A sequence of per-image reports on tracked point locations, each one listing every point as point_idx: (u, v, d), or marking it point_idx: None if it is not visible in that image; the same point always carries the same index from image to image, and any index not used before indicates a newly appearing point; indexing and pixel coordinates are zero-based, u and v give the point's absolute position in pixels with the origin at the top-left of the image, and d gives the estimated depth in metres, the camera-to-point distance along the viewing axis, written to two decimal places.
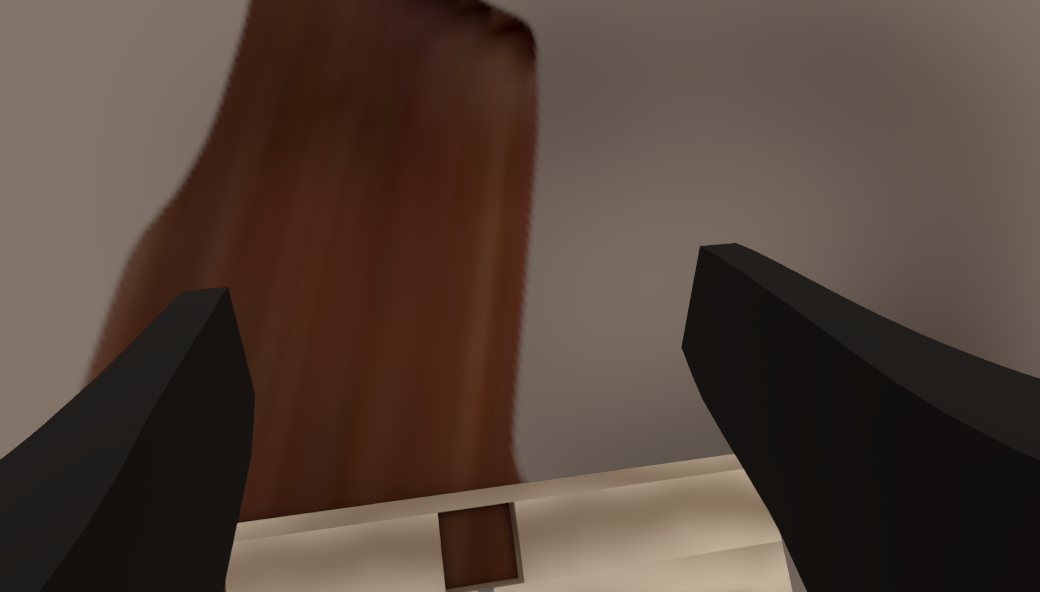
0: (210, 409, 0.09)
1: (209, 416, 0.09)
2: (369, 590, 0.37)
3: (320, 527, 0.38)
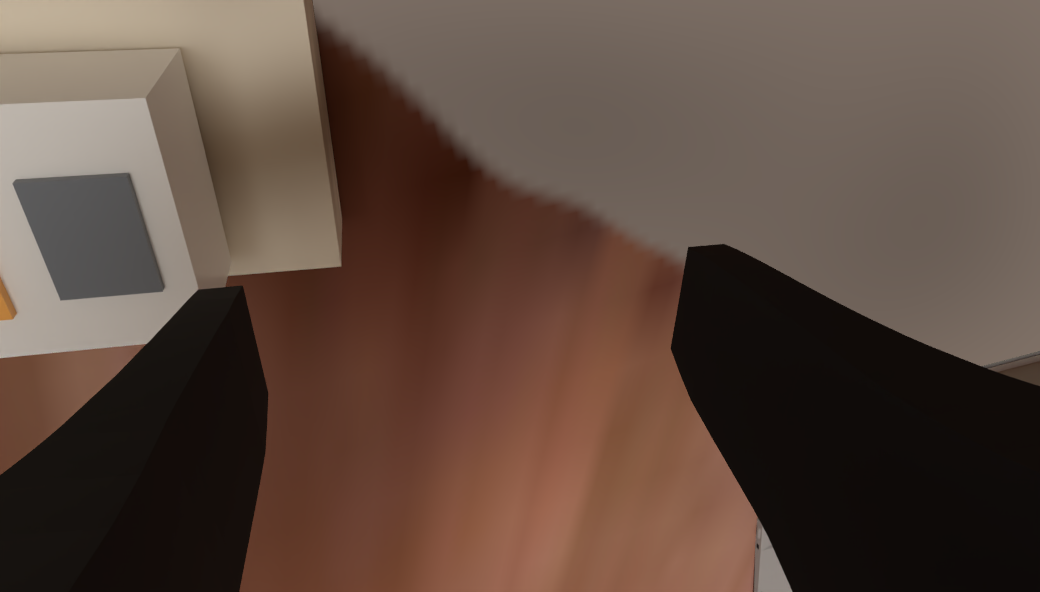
0: (226, 407, 0.09)
1: (224, 414, 0.09)
2: None
3: None
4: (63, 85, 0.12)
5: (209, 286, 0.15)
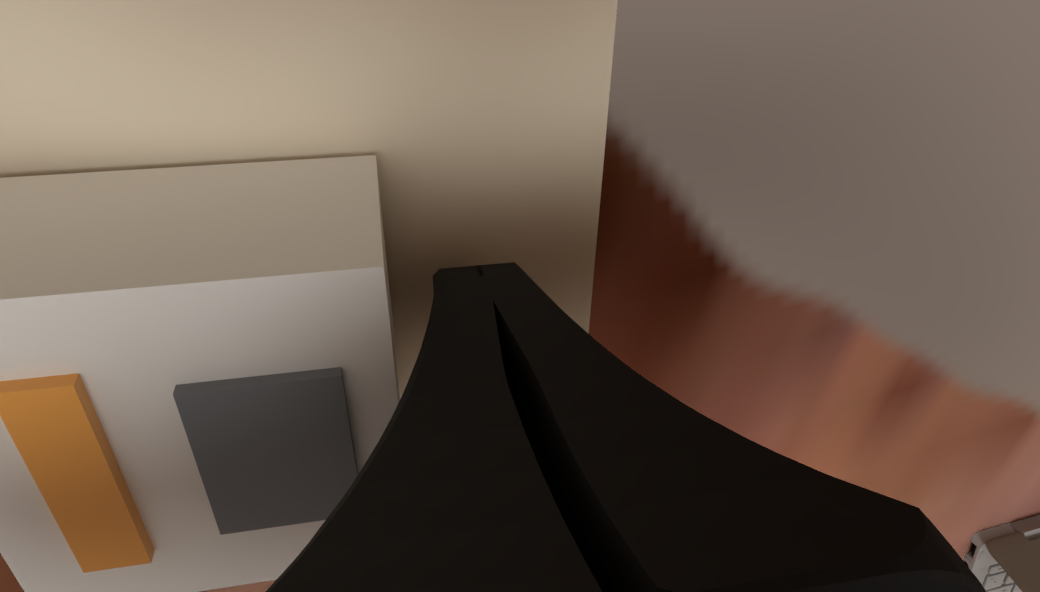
0: None
1: None
2: None
3: None
4: (245, 238, 0.08)
5: None
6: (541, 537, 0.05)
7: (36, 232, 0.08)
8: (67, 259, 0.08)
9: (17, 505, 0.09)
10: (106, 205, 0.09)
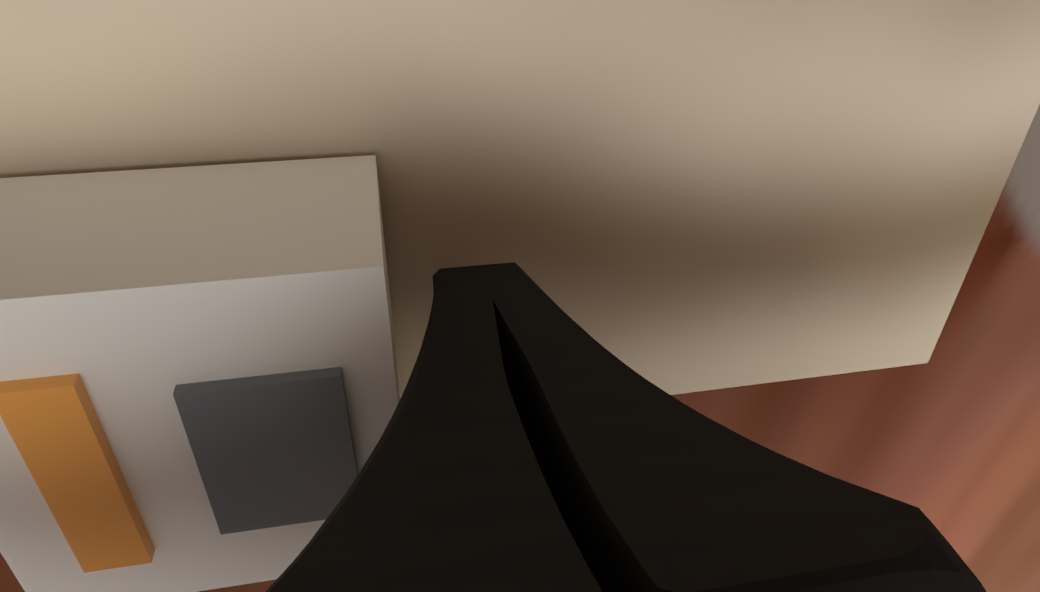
0: None
1: None
2: None
3: None
4: (245, 238, 0.08)
5: None
6: (540, 537, 0.05)
7: (35, 232, 0.08)
8: (66, 260, 0.08)
9: (17, 505, 0.09)
10: (106, 205, 0.09)
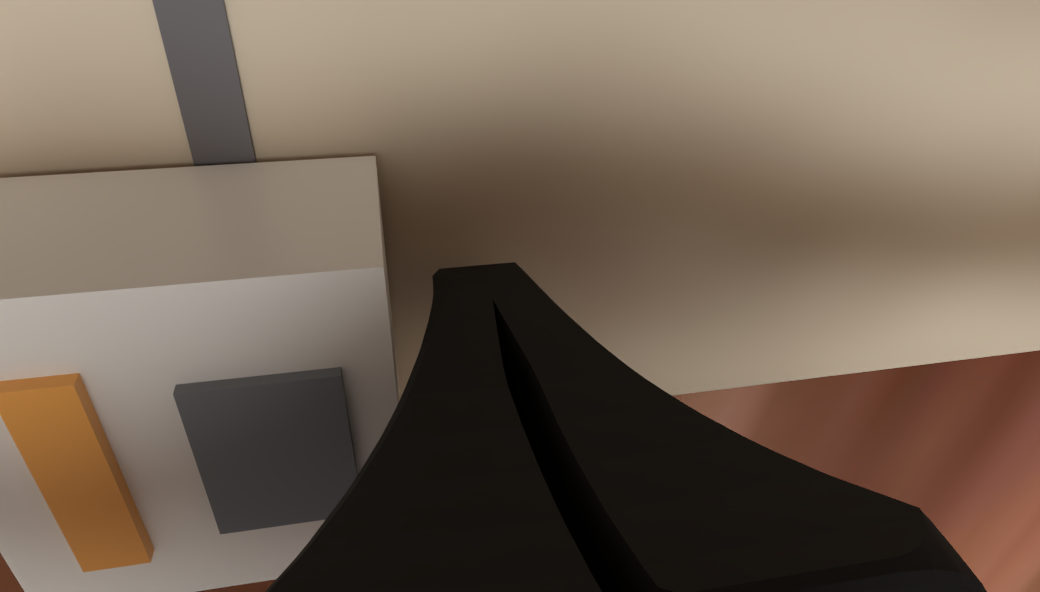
0: None
1: None
2: None
3: None
4: (245, 238, 0.08)
5: None
6: (540, 537, 0.05)
7: (36, 233, 0.08)
8: (67, 260, 0.08)
9: (17, 505, 0.09)
10: (106, 205, 0.09)
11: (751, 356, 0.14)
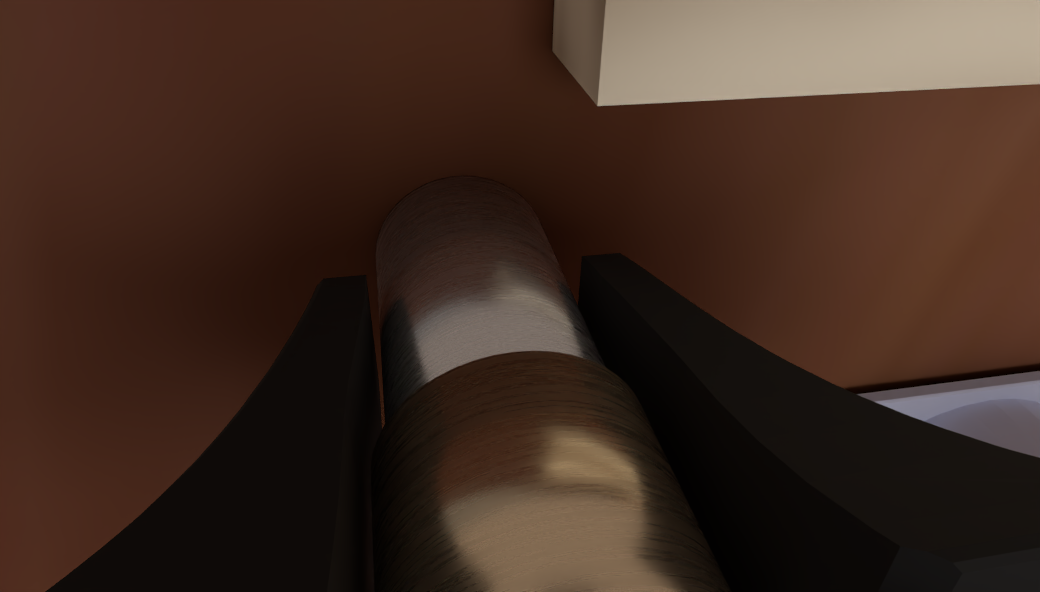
0: (366, 391, 0.09)
1: (366, 398, 0.09)
2: None
3: None
4: None
5: None
6: (296, 574, 0.05)
7: None
8: None
9: None
10: None
11: None
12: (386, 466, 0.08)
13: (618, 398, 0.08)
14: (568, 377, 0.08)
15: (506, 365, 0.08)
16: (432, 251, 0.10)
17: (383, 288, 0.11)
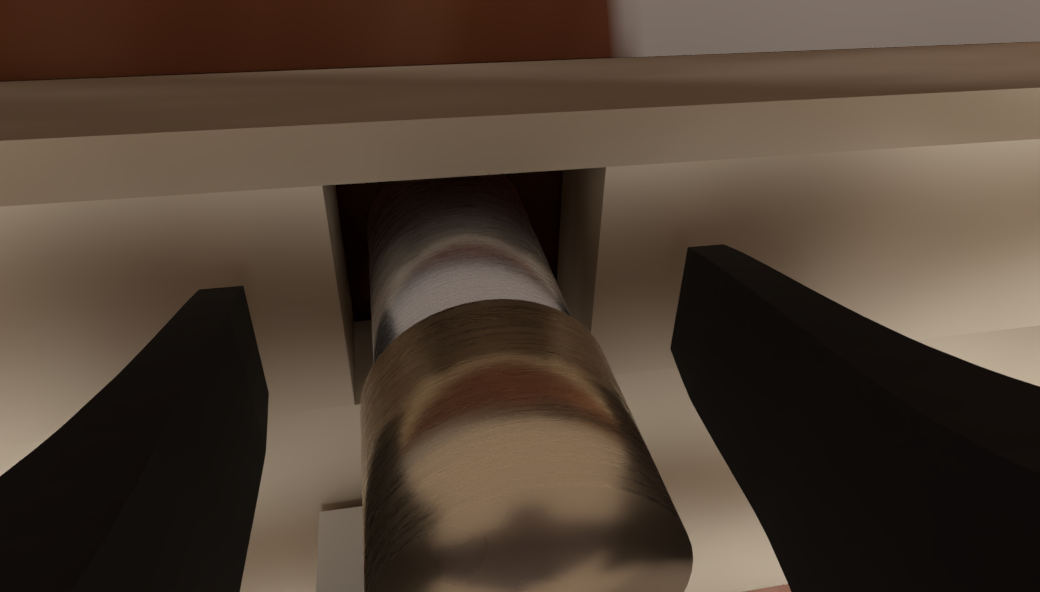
0: (227, 407, 0.09)
1: (226, 414, 0.09)
2: None
3: None
4: None
5: None
6: None
7: None
8: None
9: None
10: None
11: None
12: (381, 389, 0.08)
13: (589, 346, 0.09)
14: (547, 323, 0.09)
15: (494, 310, 0.09)
16: (426, 213, 0.11)
17: (376, 246, 0.12)
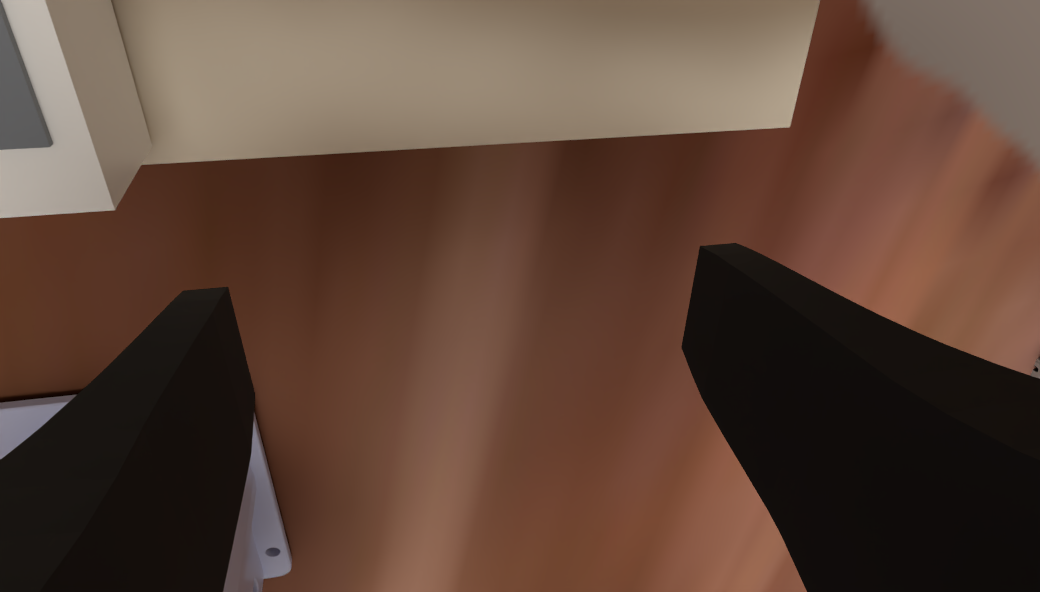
0: (210, 409, 0.09)
1: (209, 416, 0.09)
2: None
3: None
4: None
5: (113, 153, 0.13)
6: None
7: None
8: None
9: None
10: None
11: (470, 113, 0.16)
12: None
13: None
14: None
15: None
16: None
17: None
